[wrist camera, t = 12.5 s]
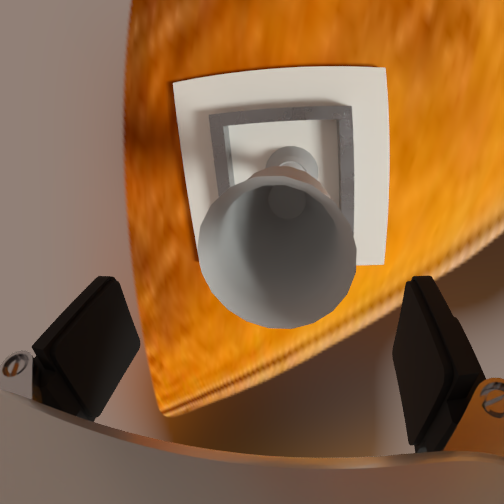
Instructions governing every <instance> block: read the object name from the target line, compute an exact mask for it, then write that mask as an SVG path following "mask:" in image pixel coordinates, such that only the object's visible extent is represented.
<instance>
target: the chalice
mask: <svg viewBox="0 0 504 504" xmlns="http://www.w3.org/2000/svg"><path fill="white" fill-rule="evenodd" d="M317 179H318V166H317V163H316V160H315V159H314V158H313V156H312V155H311V154H310V153H309V152H308V151H306V150H305V149H303V148H300V147H297V146H285V147H282V148H280V149H277V150H276V151H275V152H274V153H272V154H271V156H270V157H269V159H268V161H267V163H266V167H265V169H263V170H261V171H258V172H256V173H254V174H253V175H252V176H251V177H250V178H248V179H247V180H246V181H244V182H241V183H239V184H236V185H234V186H231V187H229V188H228V189H227V190H226V191H225V192H224V193H223V194H222V195H221V196H220V197H219V198H218V199H217V200H215V201H214V202H213V203H212V204H211V206H210V208H209V210H208V212H207V214H206V216H205V218H204V220H203V222H202V224H201V226H200V232H199V240H198V248H197V251H198V256H199V261H200V266H201V272H202V274H203V276H204V278H205V280H206V282H207V284H208V286H209V287H210V289H211V291H212V293H213V294H214V295H215V296H216V297H217V298H218V299H219V300H220V302H221V303H222V304H223V305H224V306H225V307H226V308H227V309H228V310H230V311H231V312H233V313H234V314H236V315H238V316H239V317H241V318H242V319H244V320H246V321H248V322H251V323H254V324H257V325H261V326H264V327H267V328H287V329H292V328H296V327H300V326H304V325H308V324H311V323H314V322H316V321H318V320H319V319H321V318H322V317H324V316H326V315H327V314H329V313H330V312H332V311H333V310H334V309H335V308H336V307H337V305H338V304H339V303H340V302H341V301H342V299H343V298H344V297H345V296H346V295H347V293H348V291H349V288H350V286H351V283H352V281H353V278H354V275H355V273H356V255H357V248H356V244H355V241H354V237H353V233H352V230H351V226H350V224H349V222H348V221H347V219H346V218H345V216H344V215H343V213H342V212H341V211H340V209H339V208H338V206H337V205H336V203H335V202H334V201H333V200H331V198H330V196H329V194H328V193H327V191H326V190H325V188H324V187H323V186H322V184H321V183H320V182H319V181H318V180H317Z"/></svg>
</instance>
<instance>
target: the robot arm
mask: <svg viewBox="0 0 504 504" xmlns="http://www.w3.org/2000/svg"><path fill="white" fill-rule="evenodd" d="M32 348H33V350H34V352H35V354H36V357H35V358H33V356H32V355H31V354H30V353H29V352H27V351H18V352H15V353H13V354H11V355H10V356H8V357H7V358H6V359H5V360H4V361H3V363H2V364H1V366H0V504H504V379H502V378H489V379H486V378H485V375H484V373H483V371H482V369H481V366H480V364H479V362H478V360H477V358H476V355H475V353H474V351H473V349H472V347H471V345H470V342H469V340H468V338H467V336H466V334H465V332H464V330H463V328H462V326H461V324H460V323H459V321H458V319H457V318H456V317H453V315H452V313H451V311H450V309H449V307H448V305H447V303H446V301H445V300H444V298H443V296H442V294H441V292H440V290H439V289H438V287H437V285H436V283H435V282H434V280H433V278H432V277H431V276H413V277H412V280H411V281H407V282H406V285H405V291H404V297H403V302H402V307H401V313H400V318H399V323H398V327H397V332H396V336H395V341H394V345H393V352H392V355H393V361H394V366H395V370H396V375H397V380H398V385H399V390H400V395H401V401H402V406H403V412H404V417H405V423H406V429H407V436H408V441H409V444H410V445H414V446H415V453H413V454H399V455H388V456H374V457H355V458H354V457H351V458H299V457H298V458H297V457H277V456H262V455H252V454H242V453H234V452H225V451H218V450H211V449H205V448H198V447H193V446H187V445H181V444H177V443H172V442H167V441H162V440H158V439H153V438H149V437H145V436H141V435H137V434H132V433H129V432H125V431H122V430H118V429H114V428H111V427H108V426H104V425H101V424H98V423H95V422H94V420H95V418H96V417H98V416H99V415H100V414H101V413H102V411H103V409H104V407H105V406H106V404H107V402H108V401H109V399H110V397H111V395H112V394H113V392H114V390H115V389H116V387H117V385H118V383H119V382H120V380H121V378H122V377H123V375H124V373H125V372H126V370H127V368H128V367H129V365H130V363H131V362H132V360H133V358H134V357H135V355H136V353H137V352H138V350H139V348H140V339H139V337H138V334H137V331H136V329H135V326H134V323H133V320H132V318H131V315H130V312H129V310H128V306H127V304H126V301H125V298H124V295H123V292H122V289H121V286H120V283H119V282H118V281H116V279H115V278H114V277H110V276H98V277H97V278H96V279H95V280H94V281H93V282H92V283H91V284H90V285H89V286H88V287H87V288H86V289H85V290H84V291H83V292H82V293H81V294H80V295H79V296H78V297H77V298H76V299H75V300H74V301H73V302H72V303H71V304H70V305H69V307H67V308H66V309H65V311H63V313H62V314H61V315H60V316H59V317H58V318H57V319H56V320H55V321H54V322H53V323H52V324H51V325H50V327H49V328H48V329H47V330H46V331H45V332H44V333H43V334H42V335H41V336H40V338H39V339H38V340H37V341H36V342H35V343H34V344H33V345H32Z"/></svg>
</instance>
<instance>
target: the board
mask: <svg viewBox="0 0 504 504" xmlns="http://www.w3.org/2000/svg"><path fill="white" fill-rule="evenodd" d="M173 90H174V99H175V107H176V115H177V123H178V131H179V138H180V145H181V153H182V159H183V166H184V173H185V180H186V186H187V192H188V199H189V205H190V211H191V217H192V223H193V229H194V234H195V240H196V246H197V248H198V240H199V232H200V226H201V224H202V222H203V220H204V218H205V216H206V214H207V212H208V210H209V208H210V206H211V204H212V203H213V202H214V201H215V200H217V199H218V198H219V196H218V188H217V180H216V172H215V165H214V157H213V149H212V140H211V132H210V124H209V115H211V114H219V113H227V112H236V111H246V110H257V109H269V108H285V107H306V106H352V118H353V141H354V241H355V244H356V248H357V255H356V265H384V258H385V247H386V234H387V219H388V200H389V113H388V94H387V80H386V68H380V67H356V66H314V67H290V68H275V69H263V70H253V71H244V72H235V73H228V74H220V75H214V76H207V77H201V78H195V79H190V80H185V81H179V82H174V83H173ZM228 128H229V137H230V146H231V155H232V164H233V173H234V182H235V185H236V184H239V183H241V182H244V181H246V180H247V179H248V178H250V177H251V176H252V175H253V174H254V173H256V172H258V171H261V170H263V169H265V167H266V163H267V161H268V159H269V157H270V156H271V154H272V153H274V152H275V151H276V150H277V149H280V148H282V147H285V146H297V147H300V148H303V149H305V150H306V151H308V152H309V153H310V154H311V155H312V156H313V158H314V159H315V160H316V163H317V166H318V179H317V180H318V181H319V182H320V183H321V184H322V186H323V187H324V188H325V190H326V191H327V193H328V194H329V196H330V198H331V200H333V201H334V202H335V203H336V205H337V206H338V208H339V166H338V140H337V121H336V119H335V120H297V121H278V122H264V123H251V124H240V125H230V126H228ZM198 257H199V256H198ZM199 262H200V261H199ZM200 267H201V266H200Z"/></svg>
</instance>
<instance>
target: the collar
mask: <svg viewBox="0 0 504 504" xmlns="http://www.w3.org/2000/svg"><path fill="white" fill-rule="evenodd" d="M335 119H336V121H337V140H338V166H339V209H340V211H341V212H342V213H343V215H344V216H345V218H346V219H347V221H348V222H349V224H350V226H351V230H352V233H353V237H354V141H353V118H352V106H306V107H285V108H269V109H257V110H246V111H236V112H227V113H219V114H211V115H209V124H210V132H211V140H212V149H213V157H214V165H215V172H216V180H217V188H218V196H219V197H220V196H221V195H222V194H223V193H224V192H225V191H226V190H227V189H228V188H229V187H231V186H234V185H235V182H234V173H233V164H232V155H231V146H230V137H229V128H228V126H230V125H240V124H251V123H264V122H278V121H297V120H335Z"/></svg>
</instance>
